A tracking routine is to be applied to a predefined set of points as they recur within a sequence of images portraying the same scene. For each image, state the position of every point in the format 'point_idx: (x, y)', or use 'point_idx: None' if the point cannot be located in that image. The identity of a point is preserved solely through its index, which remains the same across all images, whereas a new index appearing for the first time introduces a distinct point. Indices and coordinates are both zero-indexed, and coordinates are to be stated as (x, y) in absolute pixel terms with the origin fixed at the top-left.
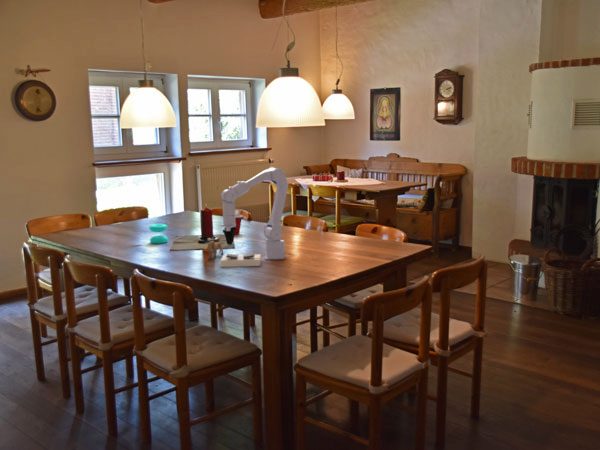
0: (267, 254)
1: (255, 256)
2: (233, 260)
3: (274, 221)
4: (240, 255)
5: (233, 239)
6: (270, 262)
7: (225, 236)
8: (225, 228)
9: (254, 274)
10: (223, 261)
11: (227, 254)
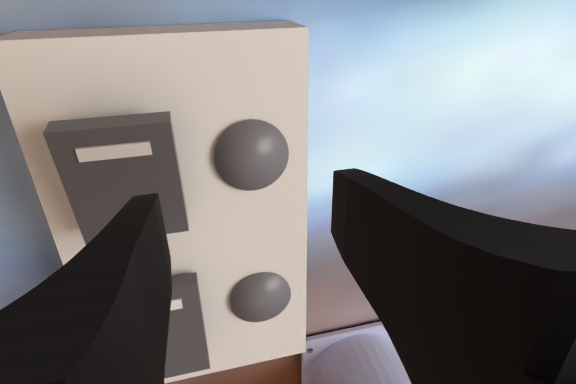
0: (334, 369)
1: (226, 341)
2: (40, 200)
3: None
4: (272, 220)
5: (351, 268)
6: (227, 379)
7: (27, 297)
8: (568, 310)
9: None
10: (2, 79)
11: (129, 130)
